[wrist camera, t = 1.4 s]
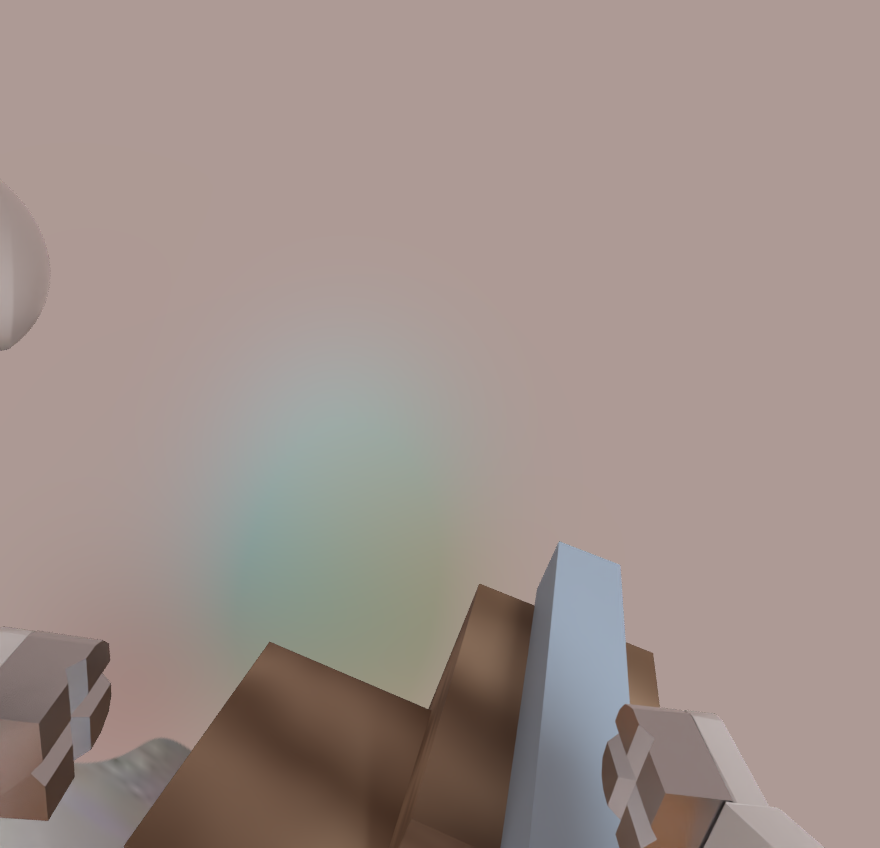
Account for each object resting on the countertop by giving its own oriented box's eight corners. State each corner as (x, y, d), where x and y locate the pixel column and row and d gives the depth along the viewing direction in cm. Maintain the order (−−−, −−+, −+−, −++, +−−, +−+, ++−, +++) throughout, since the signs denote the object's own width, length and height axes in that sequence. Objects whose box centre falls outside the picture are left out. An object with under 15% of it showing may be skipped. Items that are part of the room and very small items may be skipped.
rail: (597, 1323, 13) (669, 1273, 12) (444, 1244, 13) (495, 1186, 12) (595, 612, 35) (620, 564, 33) (537, 589, 35) (559, 541, 34)
